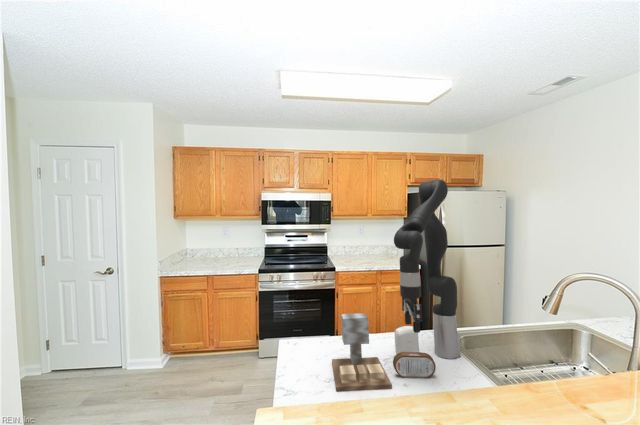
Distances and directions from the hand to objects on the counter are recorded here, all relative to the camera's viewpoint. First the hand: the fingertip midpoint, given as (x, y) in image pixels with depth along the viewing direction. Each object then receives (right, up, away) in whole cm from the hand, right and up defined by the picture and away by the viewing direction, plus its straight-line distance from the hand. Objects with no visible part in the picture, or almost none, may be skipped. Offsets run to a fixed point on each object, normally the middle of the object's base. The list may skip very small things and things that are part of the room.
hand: (412, 328), depth 101 cm
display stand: (-20, -18, +1) cm, 27 cm away
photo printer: (+3, -19, +15) cm, 24 cm away
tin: (+1, -18, -1) cm, 18 cm away
